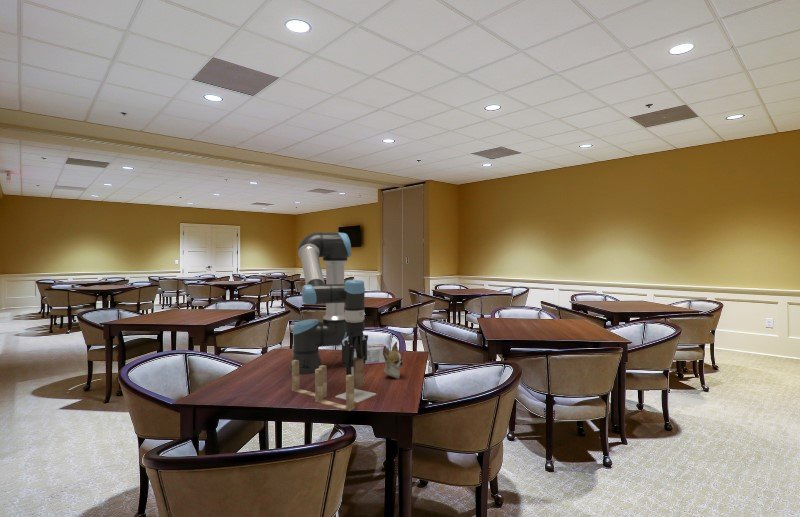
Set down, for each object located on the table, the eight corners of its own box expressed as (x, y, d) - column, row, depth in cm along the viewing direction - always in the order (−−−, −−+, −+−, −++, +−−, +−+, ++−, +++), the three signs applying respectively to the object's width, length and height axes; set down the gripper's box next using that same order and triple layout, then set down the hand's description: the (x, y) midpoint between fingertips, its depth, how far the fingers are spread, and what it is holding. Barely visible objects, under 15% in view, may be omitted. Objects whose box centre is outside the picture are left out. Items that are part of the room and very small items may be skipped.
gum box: (390, 362, 211) (385, 357, 224) (390, 348, 211) (385, 343, 224) (345, 365, 207) (343, 359, 219) (345, 350, 207) (343, 345, 219)
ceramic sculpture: (395, 382, 179) (395, 347, 179) (378, 379, 183) (378, 344, 183) (408, 376, 188) (408, 342, 188) (392, 373, 192) (392, 340, 192)
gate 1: (291, 391, 168) (291, 360, 168) (296, 389, 170) (296, 359, 170) (322, 399, 158) (322, 367, 158) (327, 397, 160) (326, 365, 160)
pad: (335, 397, 160) (335, 396, 160) (354, 390, 169) (354, 388, 169) (357, 403, 154) (357, 401, 154) (376, 395, 163) (376, 393, 163)
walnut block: (346, 385, 160) (346, 359, 160) (354, 382, 164) (354, 357, 164) (355, 387, 158) (355, 361, 158) (363, 384, 161) (363, 358, 161)
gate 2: (314, 402, 155) (314, 369, 155) (319, 400, 157) (319, 368, 157) (350, 411, 146) (349, 376, 146) (354, 409, 148) (354, 375, 147)
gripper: (346, 325, 151) (347, 390, 152) (376, 318, 166) (376, 378, 166) (331, 323, 156) (331, 386, 156) (361, 317, 170) (362, 375, 170)
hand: (355, 382), depth 161 cm, fingers closed on walnut block, 4 cm apart
